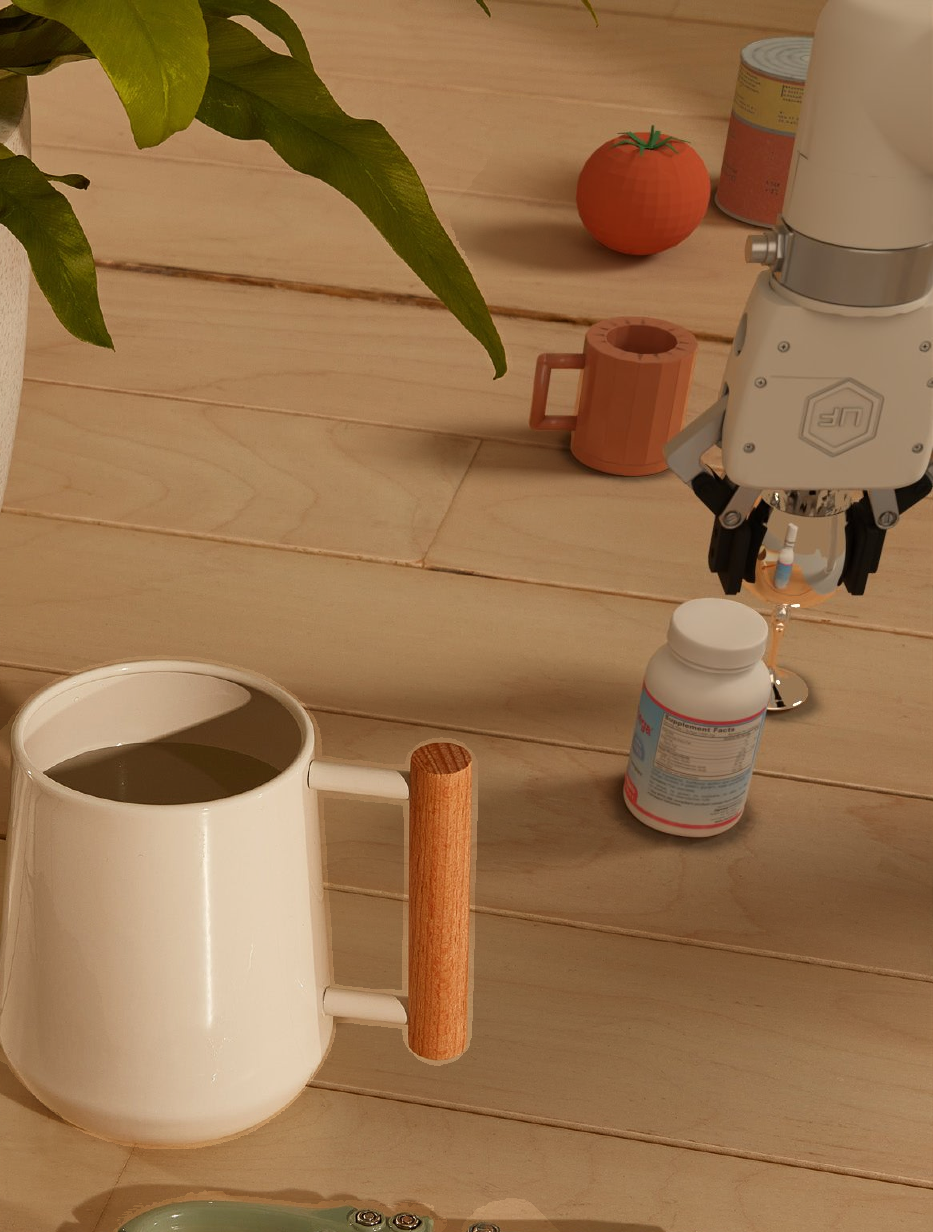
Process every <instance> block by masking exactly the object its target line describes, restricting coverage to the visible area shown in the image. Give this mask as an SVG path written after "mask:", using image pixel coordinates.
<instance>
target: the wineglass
mask: <svg viewBox="0 0 933 1232" xmlns="http://www.w3.org/2000/svg"><path fill="white" fill-rule="evenodd" d="M746 520H747V522H748V525H749V527H750V529H751V539H750V544H749V549H748V555H747V560H746V565H745V570H744V575H743V580H742V585H743V586H744V588H745V589H746V590H747V591H748V592H749V593H750V594H751V595H752V596H753V597H754V598H756V599H758V600H760V601H761V602H763V603H764V604H767V605H770V606H772V607H774V608H773V610H772V613H771V615H770V626H771V641H770V648H769V652H768V656H767V660H766V663H765V665H766V667H767V669H768V671H769V673H770V677H771V692H770V698H769V702H768V707H767V711H785V710H790V709H793V708H795V707H796V708H797V707H799V706H800V705H801V704H803V703H804V702H805V701H806V700H807V699H808V695H809V688H808V685H807V684H806V682H805V681H804V680H803V679H802V677H801V676H799V675H798V674H796V673H794V672H793V671H791V670H788V669H786V668H784V667H780V666H777V661H778V654H779V649H780V645H781V641H782V639H783V636H784V634H785V631H786V629H787V628H788V627H789V625H790V622H791V613H792V612H791V611H792V609H793V610H796V609H797V610H798V609H799V610H800V609H805V608H806V609H807V608H811V607H814V606H817V605H820V604H822V603H823V602H825V601H827V600H828V599H829V598H831V597H833V595H834V594H835V593H836V592H837V591H838V590H840V588H841V586H842V585H843V584H844V583H843V581H844V579H845V577H846V574H847V571H848V569H849V566H850V562H851V557H852V551H853V534H854V518H853V499H852V496H851V493H850V492H849V490H762V492H761V494H760V495H759V497H758V498H757V500H756V502H755V503H754V505H753V506H752V508H751V510H750V511H749V513H748V514H747V519H746Z"/></svg>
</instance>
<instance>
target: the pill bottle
mask: <svg viewBox="0 0 933 1232" xmlns="http://www.w3.org/2000/svg"><path fill="white" fill-rule="evenodd" d="M768 636H769V626H768V623H767V621H766V619H765V618H764V617H763V616H762V614H760V613H759V612H758V611H756V610H755V609H753V608H752V607H750V606H748V605H746V604H744V603H741V602H738V601H735V600H731V599H726V598H719V597H701V598H700V597H699V598H694V599H691V600H688V601H684V602H682V603H681V604H679V605H678V606H677V607H676V608H675V609H674V610H673V612H672V614H671V616H670V621H669V626H668V629H667V632H666V643H664V644H663V645H662V646H660V647H658V649H656V651H655V652H654V653H653V654H652V655H651V657H650V658H649V660H648V662H647V665H646V668H645V672H644V676H643V680H642V687H641V690H640V691H641V692H640V697H639V702H638V707H637V713H636V718H635V723H634V728H633V734H632V739H631V743H630V750H629V756H628V761H627V766H626V771H625V777H624V783H623V790H622V791H623V799H624V802H625V804H626V807H627V809H628V810H629V811H630V813H631V814H632V815H633V816H634V817H635V818H636V819H637V820H638V821H640V822H641V823H643V824H644V825H646V826H647V827H649V828H652V829H654V830H656V831H659V832H662V833H665V834H668V835H669V834H670V835H674V836H681V837H687V838H708V837H712V836H717V835H719V834H722V833H724V832H726V831H728V830H729V829H731V828H732V827H734V826H735V825H736V824H737V823H738V822H739V821H740V819H741V818H742V816H743V813H744V810H745V806H746V803H747V799H748V795H749V791H750V785H751V781H752V777H753V773H754V769H755V763H756V761H757V755H758V751H759V746H760V742H761V737H762V733H763V729H764V725H765V719H766V715H767V711H768V710H767V707H768V702H769V698H770V692H771V677H770V673H769V671H768V669H767V667H766V663H765V662H764V661H763V659H762V658H763V657H764V655H765V654H766V650H767V641H768Z"/></svg>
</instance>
